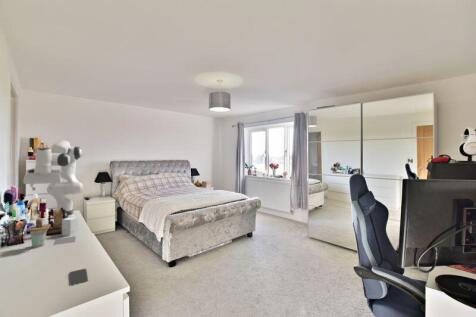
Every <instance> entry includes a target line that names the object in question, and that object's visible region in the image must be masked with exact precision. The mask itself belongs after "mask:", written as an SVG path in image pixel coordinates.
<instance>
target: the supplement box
mask: <svg viewBox="0 0 476 317" xmlns="http://www.w3.org/2000/svg"><path fill="white" fill-rule="evenodd" d="M78 222H79V218H78V217H75V218H71V217H70V218H66V219H63V220H62V233H61V236H65V237H66V236H67V237H72V236H73V235H74V236H75V235H76V234H79V233H78V230H79V229H78V227H79V223H78Z"/></svg>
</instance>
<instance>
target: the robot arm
mask: <svg viewBox="0 0 476 317" xmlns="http://www.w3.org/2000/svg"><path fill="white" fill-rule="evenodd" d="M82 154H83V151H82V149H81V147H79V146H71V143H70V142H69V140H68V141H67V140H59V141H57V142H55V143H54V144H52V146H51V148H50V147H39V148H37V149H36V153H35V158H34V159H35V165H34V166H35V167H34V168H30V169H27V170H26V171H25V175H24V177H23V181H22V183H23V184H24V185H30V187H31V191H36V187H34V185H38V184H40V185H41V184H48V185H47V187H46V192H47V194H49V195H50V196H52V197H53V198H54V199H55V201H56V210H60V209H61V208H63V209H65V210H66V211H65V216H66V217H65V219H66V218H70V217H71V218H76V215H75V214H74V202H73V200H72V198H68V197H67V196H68V195H77V194H81V193H82V192H83V191H84V184H83V183H82V182H80V181H79V180H78V179H77V177H76V174H77V172H76V171H77V161H78V159H80V158H81V157H82ZM52 166H55V167H56V166H57V167H58V166H59V167H60V170H59V169H57V170H52V168H53V167H52ZM62 179H63V180H65V181H64V182H63V181H62ZM66 195H67V196H66ZM61 227H62V226H61Z"/></svg>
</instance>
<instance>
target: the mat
mask: <svg viewBox="0 0 476 317" xmlns="http://www.w3.org/2000/svg"><path fill="white" fill-rule="evenodd" d="M75 242H76V236H75V235H74V236H67V237H62V238H56V239H54V242H53V246H56V245H63V244H70V243H75Z"/></svg>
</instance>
